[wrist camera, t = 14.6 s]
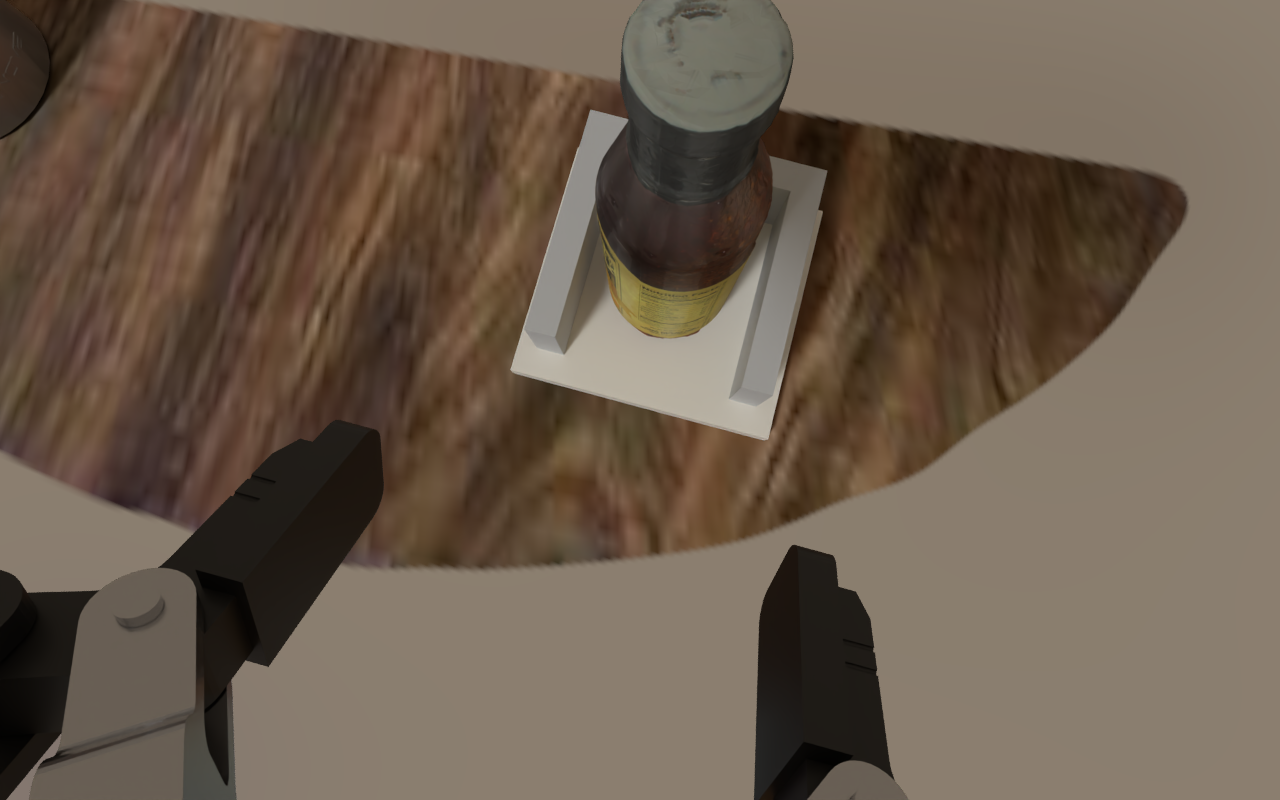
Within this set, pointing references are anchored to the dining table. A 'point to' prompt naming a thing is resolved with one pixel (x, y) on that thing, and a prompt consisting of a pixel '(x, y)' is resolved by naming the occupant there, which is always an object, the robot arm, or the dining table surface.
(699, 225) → the sauce bottle
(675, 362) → the white open tray
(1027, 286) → the dining table surface
